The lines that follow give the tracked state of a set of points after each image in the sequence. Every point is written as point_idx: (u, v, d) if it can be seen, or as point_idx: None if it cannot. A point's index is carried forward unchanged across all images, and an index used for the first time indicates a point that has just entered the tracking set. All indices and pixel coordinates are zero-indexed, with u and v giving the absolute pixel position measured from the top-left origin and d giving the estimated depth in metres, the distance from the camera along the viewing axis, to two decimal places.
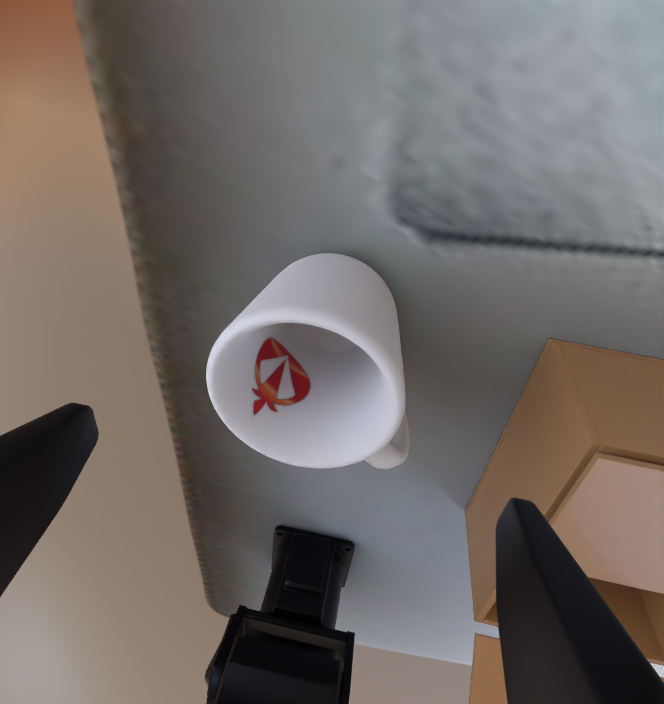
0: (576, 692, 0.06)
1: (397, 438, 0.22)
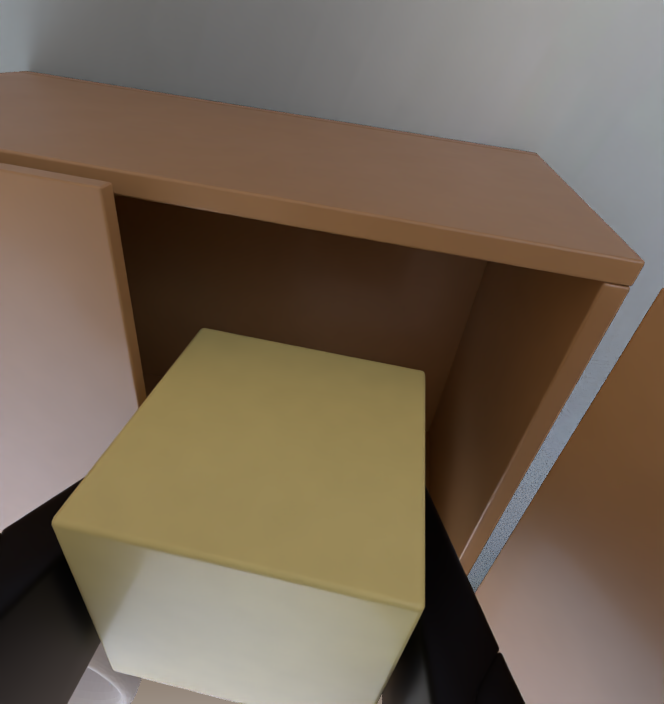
0: (414, 653, 0.06)
1: None
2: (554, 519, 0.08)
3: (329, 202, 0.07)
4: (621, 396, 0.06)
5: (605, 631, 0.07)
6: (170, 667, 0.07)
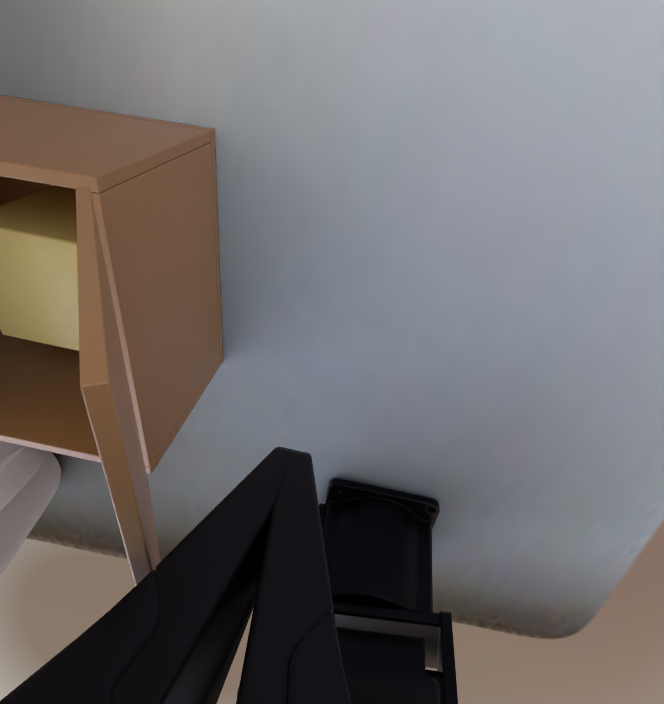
0: None
1: None
2: None
3: None
4: None
5: None
6: (23, 321, 0.17)
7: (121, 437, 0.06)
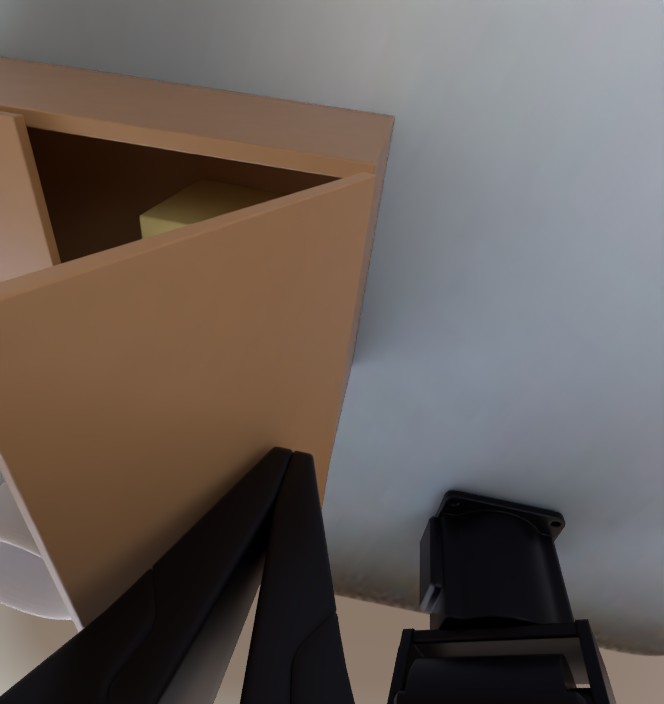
0: None
1: None
2: None
3: (172, 129, 0.10)
4: None
5: None
6: None
7: None
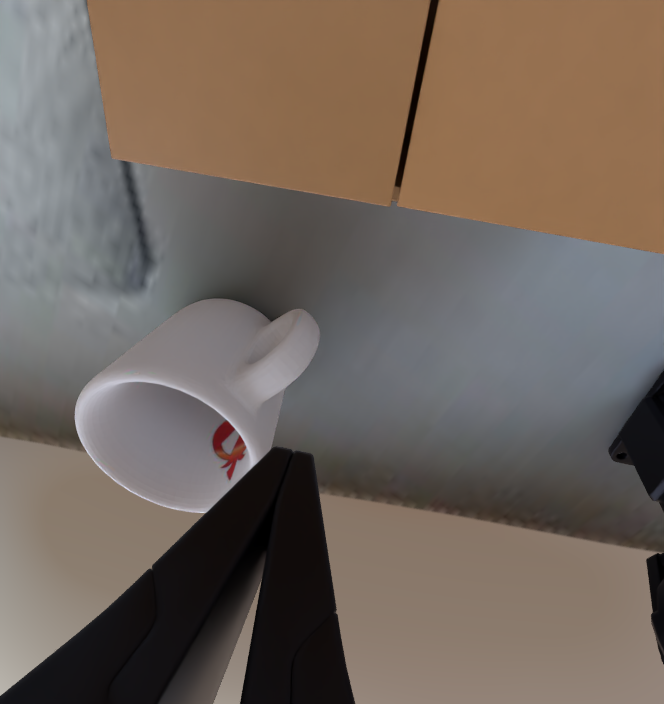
0: None
1: None
2: None
3: None
4: None
5: None
6: None
7: None
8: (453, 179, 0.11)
